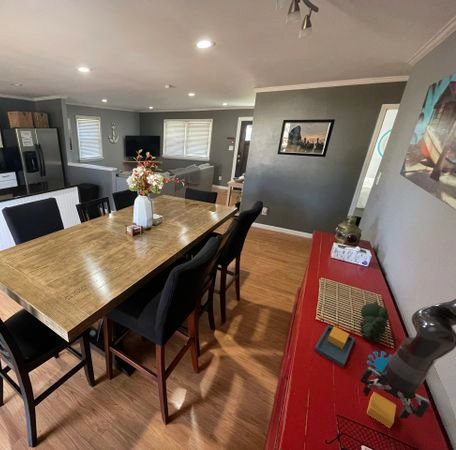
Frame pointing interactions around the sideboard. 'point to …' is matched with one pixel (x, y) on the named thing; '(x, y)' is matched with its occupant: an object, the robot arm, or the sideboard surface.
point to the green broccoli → (373, 321)
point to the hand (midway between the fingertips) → (382, 404)
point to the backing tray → (333, 348)
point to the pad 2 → (381, 410)
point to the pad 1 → (338, 337)
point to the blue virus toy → (379, 361)
